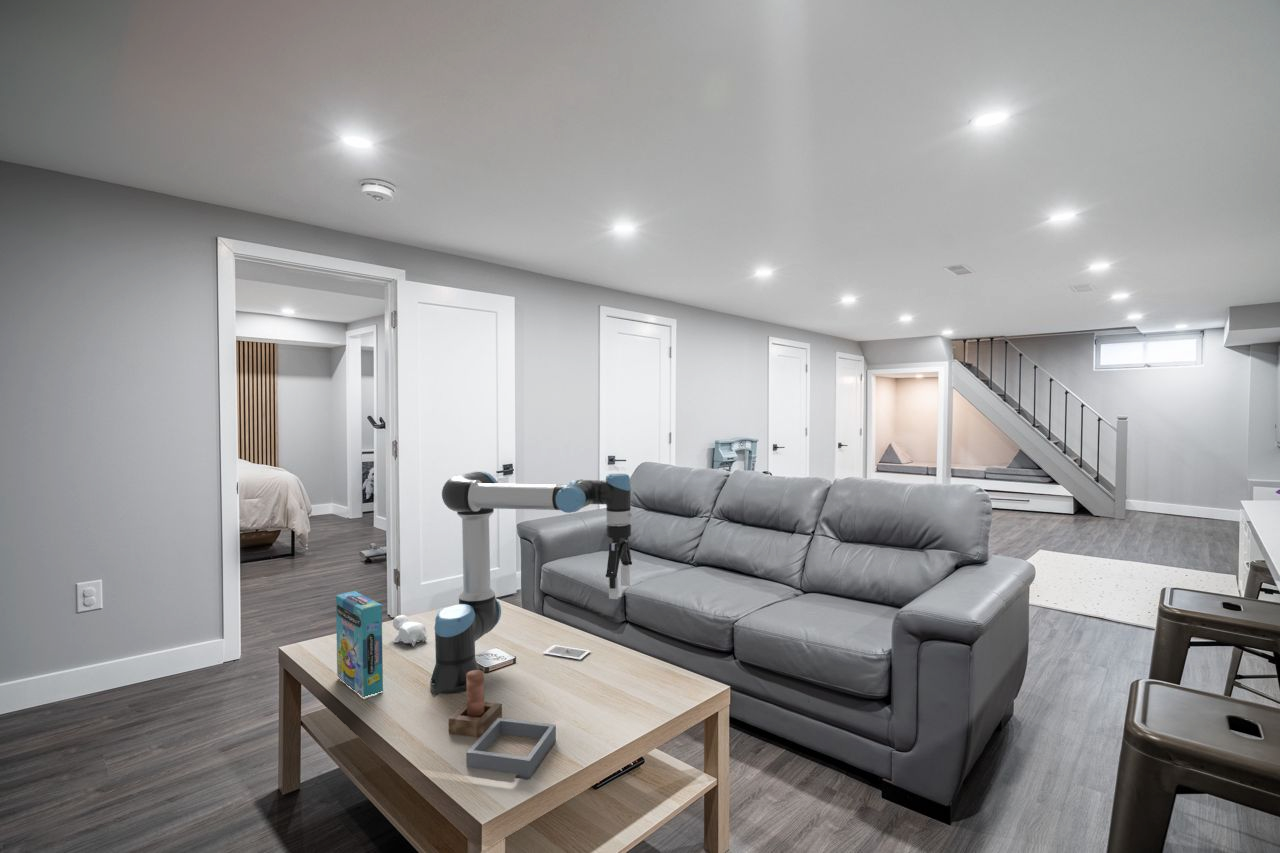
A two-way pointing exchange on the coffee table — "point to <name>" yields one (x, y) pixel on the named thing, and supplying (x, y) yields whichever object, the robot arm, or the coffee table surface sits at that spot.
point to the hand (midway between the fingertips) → (619, 591)
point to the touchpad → (566, 651)
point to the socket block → (474, 720)
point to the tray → (512, 763)
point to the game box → (359, 643)
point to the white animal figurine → (409, 630)
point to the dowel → (475, 693)
